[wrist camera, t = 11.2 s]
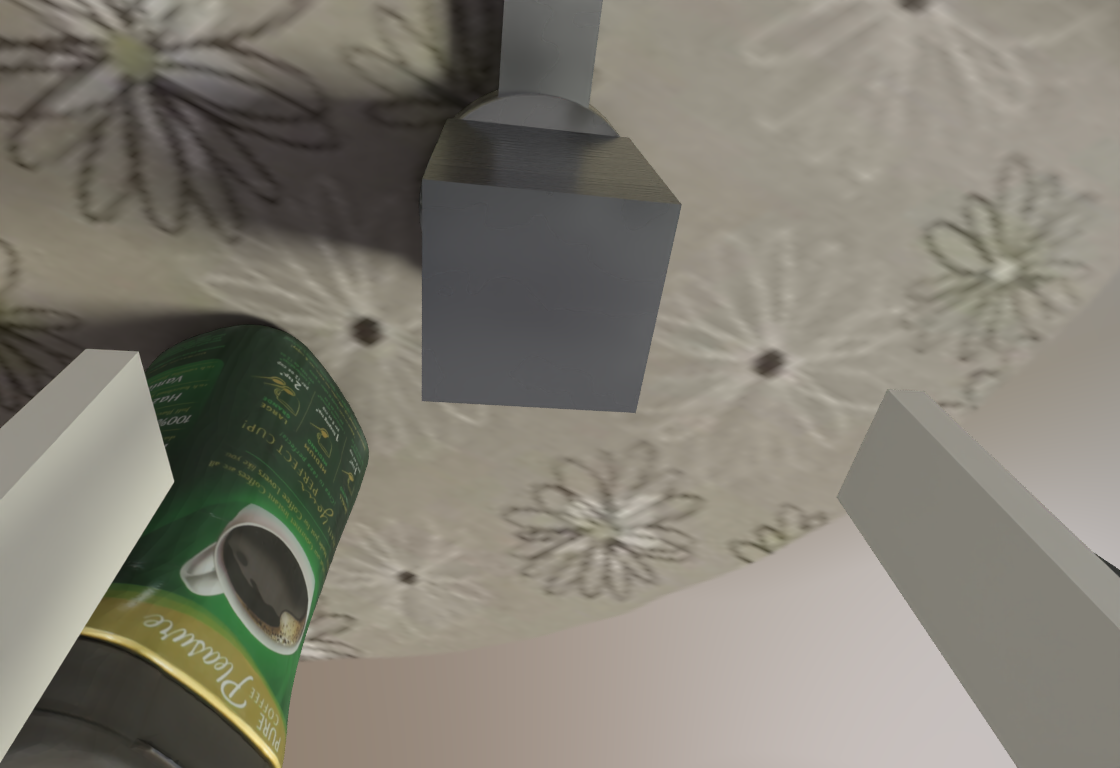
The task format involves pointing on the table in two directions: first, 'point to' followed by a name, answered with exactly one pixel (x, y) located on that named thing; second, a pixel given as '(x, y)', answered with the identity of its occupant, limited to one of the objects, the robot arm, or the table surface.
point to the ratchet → (544, 69)
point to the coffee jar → (212, 568)
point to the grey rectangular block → (540, 267)
